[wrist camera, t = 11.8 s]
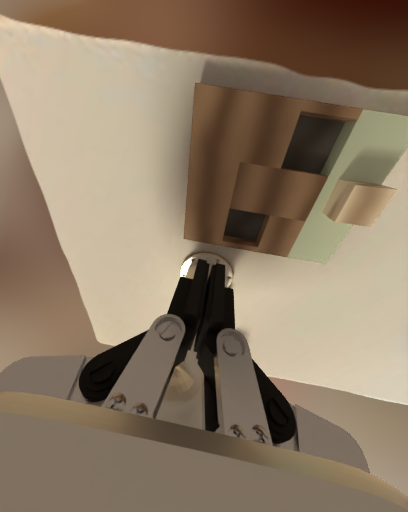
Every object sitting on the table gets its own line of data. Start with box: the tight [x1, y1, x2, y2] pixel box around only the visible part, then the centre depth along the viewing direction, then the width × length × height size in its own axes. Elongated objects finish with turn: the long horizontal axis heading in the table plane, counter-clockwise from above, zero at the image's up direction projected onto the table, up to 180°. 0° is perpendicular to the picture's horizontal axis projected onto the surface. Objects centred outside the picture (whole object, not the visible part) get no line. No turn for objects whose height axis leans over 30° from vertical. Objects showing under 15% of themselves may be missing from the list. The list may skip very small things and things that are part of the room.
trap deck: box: [184, 83, 363, 257], centre depth 28 cm, size 20×22×3 cm
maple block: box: [322, 179, 397, 226], centre depth 24 cm, size 5×5×4 cm
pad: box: [287, 109, 408, 264], centre depth 28 cm, size 8×22×3 cm, turn 173°
